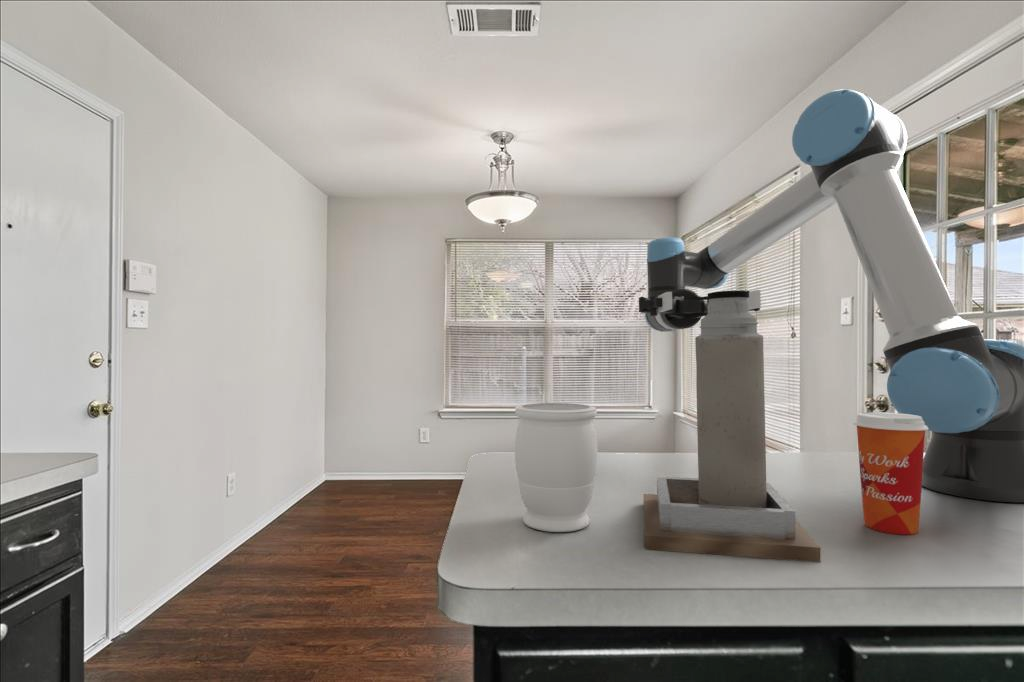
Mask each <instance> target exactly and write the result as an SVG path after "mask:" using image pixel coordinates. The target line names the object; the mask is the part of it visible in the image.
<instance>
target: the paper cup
mask: <svg viewBox="0 0 1024 682" xmlns="http://www.w3.org/2000/svg"><path fill="white" fill-rule="evenodd" d="M853 425H855V426H856V433H857V445H858V446H857V447H858V450H857V451H858V461H859V462H858V464H859V475H860V489H861V500H862V503H861V504H862V511H863V512H862V513H863V521H864V525H865V526H866V527H867V528H869V529H871V530H874V531H877V532H880V533H885V534H891V535H898V536H899V535H900V536H912V535H916V534H918V533H919V527H920V516H921V515H920V514H921V503H922V488H923V486H922V471H923V458H924V455H925V453H924V452H925V451H924V450H925V435H926V431H928V427H927V426H926V425H925V422H924V421H923V419H922V417H921V416H918V415H911V414H901V413H898V412H886V411H883V412H881V411H879V412H877V411H876V412H875V411H874V412H873V411H872V412H871V411H868V412H862V413H861V412H859V413H858V414H857V416H856V420H855V421H854V422H853Z"/></svg>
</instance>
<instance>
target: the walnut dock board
mask: <svg viewBox="0 0 1024 682" xmlns="http://www.w3.org/2000/svg"><path fill="white" fill-rule="evenodd" d="M670 503H683V504H699V503H697V502H680V501H670ZM643 540H644V541H643V542H644V543H643V545H644V546H643V549H645V550H656V551H658V550H659V551H668V552H669V551H670V552H685V553H695V554H710V555H723V556H725V555H726V556H736V557H749V558H762V559H775V560H790V561H803V562H815V563H817V562H818V563H821V562H822V560H821V559H822V558H821V557H822V556H821V547H820V545H818V543H817V541H815V540H814V539H813V537H811V535H810V534H809V533H808V532H807V531H806V529H805V528H804V527H802V525H801V524H800V523H799V522H798V521H797V520H796V539H792V538H785V540H781V539H766V538H752V537H737V536H722V535H708V534H693V533H678V532H671V530H660V523H659V514H658V504H657V494H653V493H643Z"/></svg>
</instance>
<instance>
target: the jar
mask: <svg viewBox="0 0 1024 682" xmlns="http://www.w3.org/2000/svg"><path fill="white" fill-rule="evenodd" d="M597 409H598V408H597V406H592V405H588V404H579V403H566V402H565V403H562V402H546V403H545V402H544V403H542V402H541V403H529V404H522V405H518V406H516V407H515V410H514V414H515V415H516V417H518V419H519V421H518V425H517V426H516V427H517V428H516V432H515V433H516V434H515V442H514V461H515V469H516V474H517V478H518V480H517V481H518V489H519V493H520V496H521V499H522V502H523V504H524V507H526V509H527V510H526V512H524V516H523V519H522V520H523V523H524V524H525V525H526V526H528V527H530V528H531V529H534V530H538V531H543V532H549V533H567V532H570V533H571V532H575V531H579V530H582V529H585V528H587V527H588V526H589V524H590V521H591V520H590V517H589V515H588V514H587V511H586V510H587V509H588V507H589V505H590V503H591V500H592V497H593V494H594V487H595V477H596V474H597V468H598V467H597V466H598V456H599V455H598V453H599V452H598V441H597V440H598V439H597V432H596V428H595V425H594V423H593V422H594V418H595V417H596V416H597V414H598V410H597Z"/></svg>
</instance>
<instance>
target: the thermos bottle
mask: <svg viewBox="0 0 1024 682" xmlns="http://www.w3.org/2000/svg"><path fill="white" fill-rule="evenodd" d="M748 291H749V290H721V291H714V292H708V293H707V296H708V299H709V303H708V314H707V315H706V316H703V317H701V319H700V326H699V328H700V334H699V335H697V336H696V337H695V343H694V344H695V363H696V364H695V365H696V366H695V367H696V371H695V372H696V374H695V375H696V376H695V377H696V381H695V382H696V383H695V384H696V388H695V389H696V425H697V426H696V429H697V433H696V434H697V469H698V471H697V473H698V474H697V475H698V477H697V478H698V480H699V504H701V505H718V506H736V507H754V508H767V489H766V483H767V456H766V455H767V454H766V453H767V451H766V447H767V446H766V412H765V411H766V409H765V408H766V407H765V406H766V404H765V403H766V402H765V398H766V397H765V364H764V363H765V359H764V357H765V356H764V351H765V350H764V336H763V335H762V334H759V333H758V326H757V325H758V324H759V322H757V320H758V319H757V317H756V316H754V315H753V314H751V313H750V311H749V303H748V301H747V298H748V297H749V292H748Z"/></svg>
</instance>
